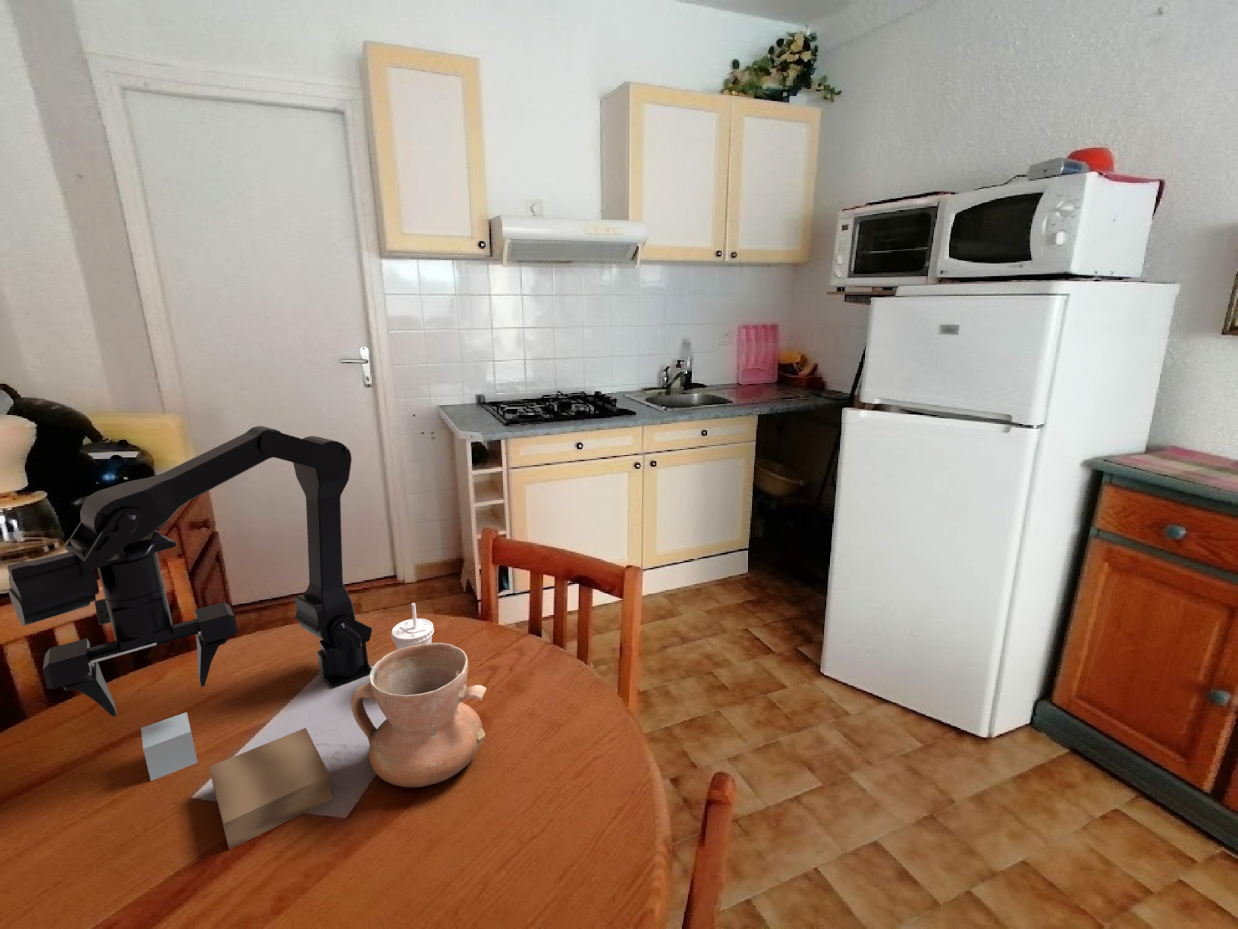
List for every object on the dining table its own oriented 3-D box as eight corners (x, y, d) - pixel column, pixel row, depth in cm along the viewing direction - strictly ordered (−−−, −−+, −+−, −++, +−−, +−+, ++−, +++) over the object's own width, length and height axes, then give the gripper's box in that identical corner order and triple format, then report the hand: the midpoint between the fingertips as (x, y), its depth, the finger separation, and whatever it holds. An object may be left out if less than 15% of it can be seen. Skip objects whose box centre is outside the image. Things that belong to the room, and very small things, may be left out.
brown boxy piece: (309, 752, 82) (305, 727, 81) (333, 801, 74) (329, 775, 73) (214, 793, 75) (209, 766, 74) (229, 852, 67) (223, 823, 66)
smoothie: (425, 696, 93) (418, 615, 90) (388, 690, 95) (379, 611, 91) (445, 672, 99) (438, 596, 96) (410, 667, 101) (402, 592, 97)
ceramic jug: (505, 725, 87) (498, 638, 83) (473, 805, 73) (464, 704, 69) (385, 720, 88) (374, 634, 85) (332, 797, 74) (316, 698, 71)
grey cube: (193, 742, 83) (186, 712, 82) (197, 763, 80) (191, 731, 78) (148, 759, 80) (140, 728, 79) (150, 781, 77) (143, 749, 75)
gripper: (215, 550, 85) (233, 647, 89) (35, 589, 74) (66, 698, 78) (227, 577, 77) (247, 682, 81) (28, 625, 65) (62, 745, 69)
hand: (160, 699), depth 78 cm, fingers open, 9 cm apart
